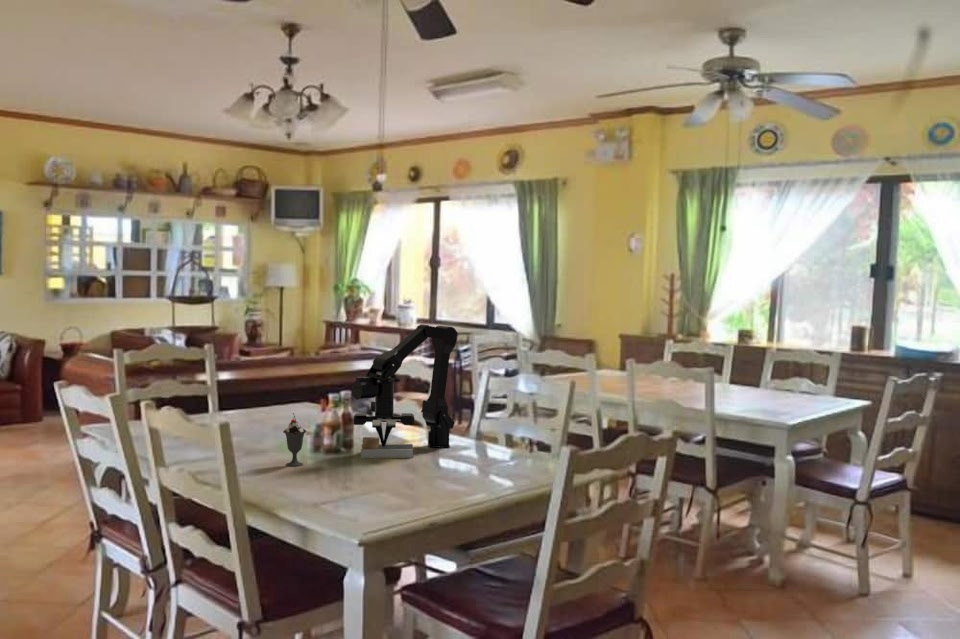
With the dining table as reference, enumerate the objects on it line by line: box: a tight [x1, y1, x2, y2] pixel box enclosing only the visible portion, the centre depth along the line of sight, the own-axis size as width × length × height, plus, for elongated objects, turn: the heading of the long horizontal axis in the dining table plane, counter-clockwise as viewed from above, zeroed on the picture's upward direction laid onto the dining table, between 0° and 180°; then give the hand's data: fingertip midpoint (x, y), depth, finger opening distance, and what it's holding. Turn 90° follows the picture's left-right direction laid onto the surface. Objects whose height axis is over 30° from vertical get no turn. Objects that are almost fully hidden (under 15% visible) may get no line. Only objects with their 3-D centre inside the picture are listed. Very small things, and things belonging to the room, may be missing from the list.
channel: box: [360, 443, 414, 459], centre depth 265 cm, size 16×8×2 cm, turn 96°
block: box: [361, 436, 380, 449], centre depth 264 cm, size 5×5×5 cm
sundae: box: [283, 413, 307, 468], centre depth 249 cm, size 7×7×15 cm
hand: (383, 446), depth 265 cm, fingers closed
